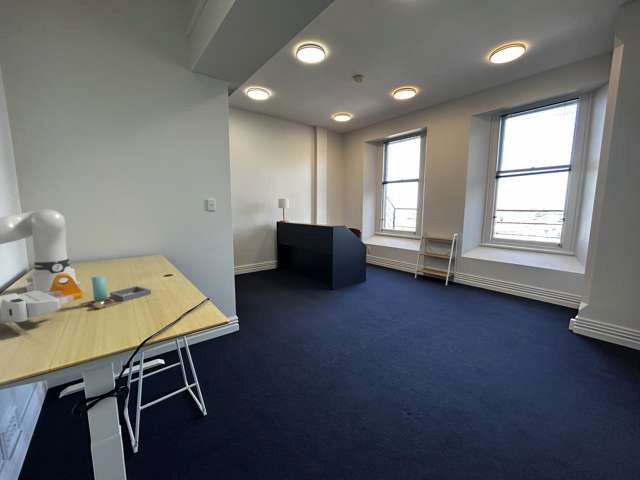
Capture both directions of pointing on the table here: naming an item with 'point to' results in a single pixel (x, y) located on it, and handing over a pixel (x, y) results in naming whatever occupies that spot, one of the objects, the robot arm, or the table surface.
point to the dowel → (99, 288)
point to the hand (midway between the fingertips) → (67, 295)
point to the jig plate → (107, 304)
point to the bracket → (66, 287)
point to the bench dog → (99, 305)
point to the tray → (120, 294)
